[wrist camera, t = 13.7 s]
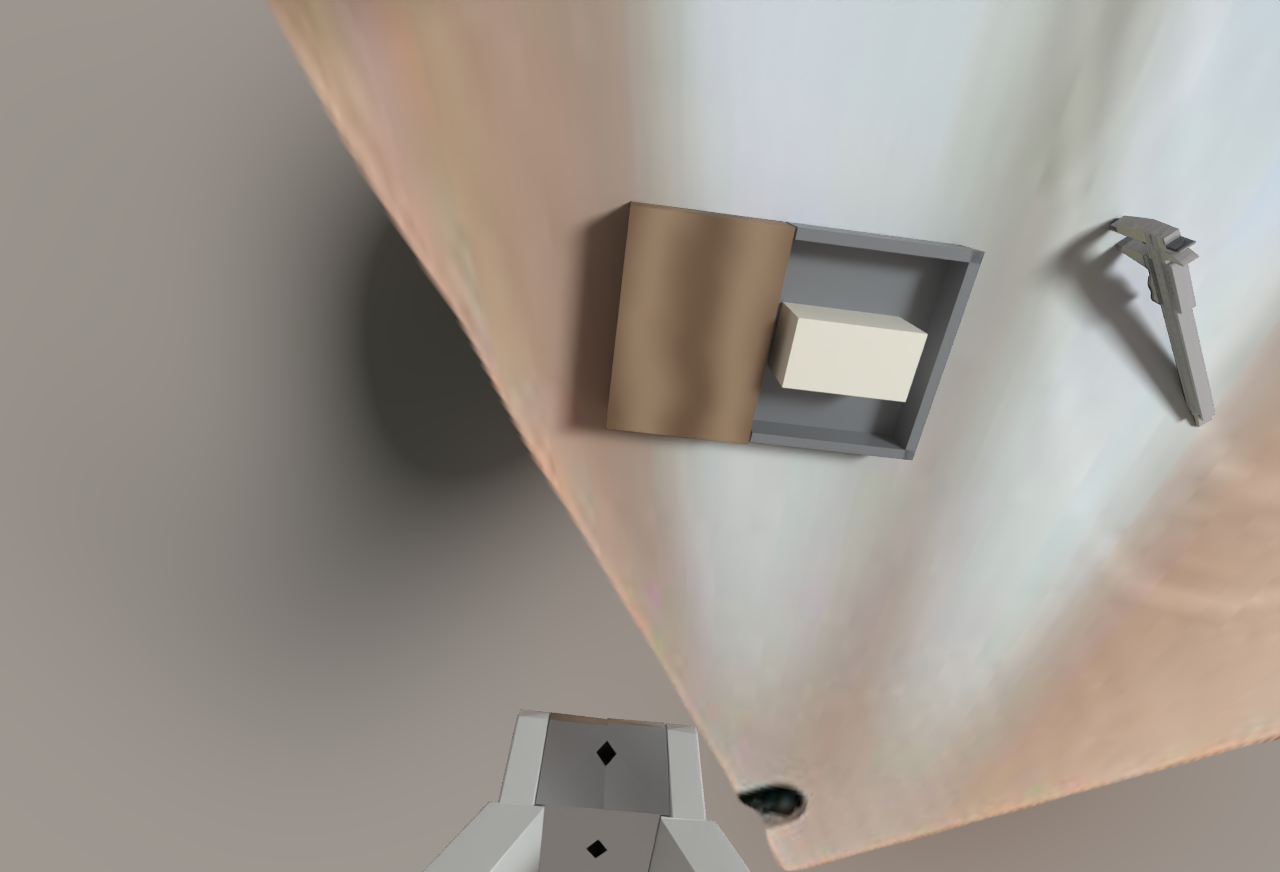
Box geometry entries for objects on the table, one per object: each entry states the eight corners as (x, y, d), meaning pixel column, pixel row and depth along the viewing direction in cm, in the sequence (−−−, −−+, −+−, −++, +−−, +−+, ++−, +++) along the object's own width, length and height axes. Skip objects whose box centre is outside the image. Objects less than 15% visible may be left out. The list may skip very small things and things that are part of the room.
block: (782, 387, 43) (905, 402, 44) (798, 317, 41) (927, 334, 42) (768, 365, 48) (880, 379, 48) (782, 301, 46) (899, 316, 46)
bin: (743, 424, 51) (750, 442, 47) (786, 221, 44) (798, 227, 41) (895, 441, 51) (912, 460, 48) (960, 245, 45) (984, 251, 42)
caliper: (1103, 224, 44) (1171, 234, 39) (1118, 214, 44) (1189, 223, 38) (1193, 425, 51) (1263, 458, 45) (1207, 417, 51) (1278, 450, 45)
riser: (607, 408, 50) (605, 428, 46) (630, 201, 43) (630, 205, 40) (739, 423, 51) (747, 444, 47) (782, 221, 44) (795, 227, 40)
